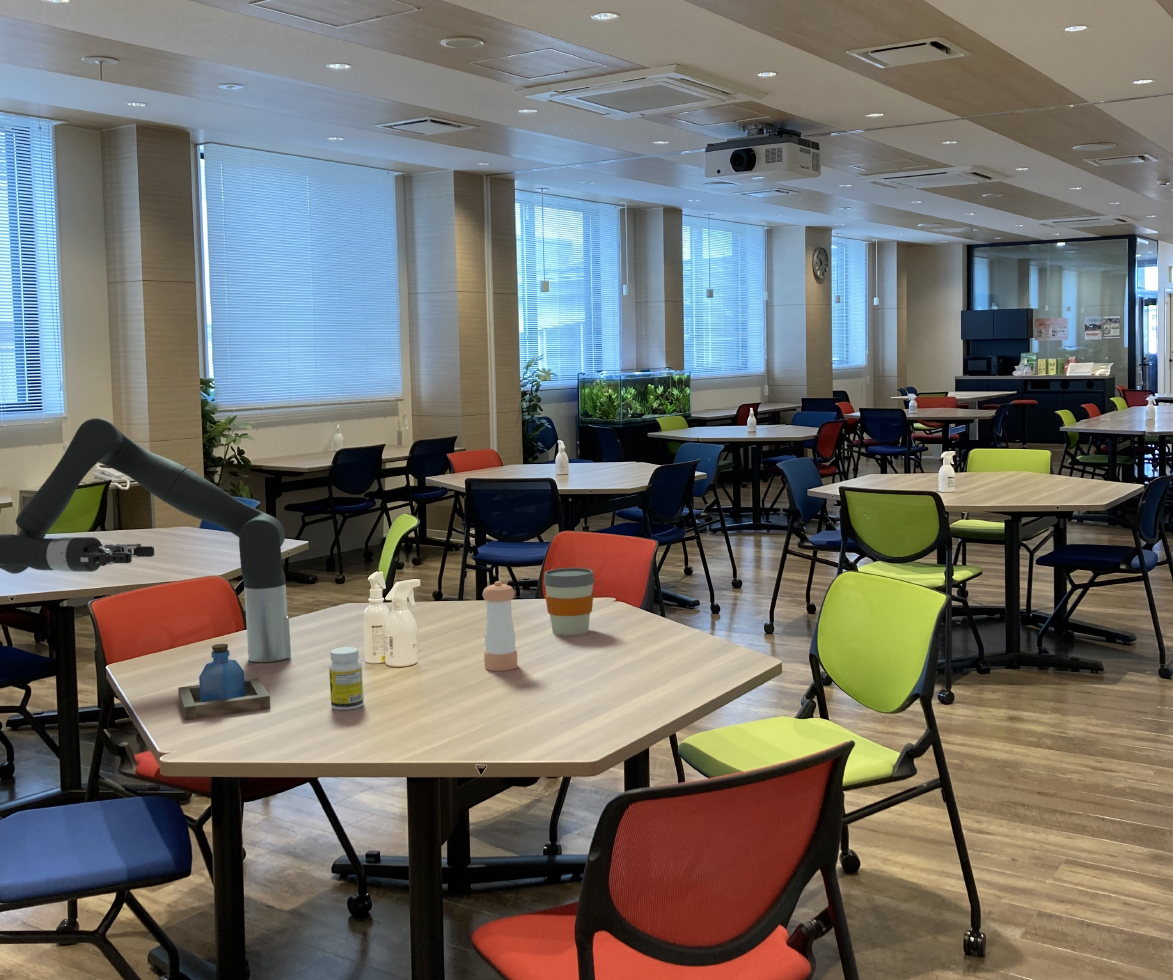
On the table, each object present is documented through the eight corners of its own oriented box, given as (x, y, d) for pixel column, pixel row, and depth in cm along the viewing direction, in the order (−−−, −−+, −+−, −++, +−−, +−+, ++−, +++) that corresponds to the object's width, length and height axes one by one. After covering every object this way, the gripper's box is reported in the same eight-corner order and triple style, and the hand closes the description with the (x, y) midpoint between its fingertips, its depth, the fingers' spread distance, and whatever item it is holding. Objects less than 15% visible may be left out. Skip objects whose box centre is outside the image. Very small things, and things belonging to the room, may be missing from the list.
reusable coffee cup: (605, 628, 295) (603, 569, 294) (578, 639, 285) (576, 577, 283) (563, 624, 302) (561, 566, 300) (535, 634, 291) (533, 574, 290)
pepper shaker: (477, 667, 260) (474, 582, 258) (501, 661, 265) (498, 577, 263) (500, 672, 255) (497, 585, 253) (524, 666, 260) (521, 580, 258)
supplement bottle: (335, 701, 236) (332, 646, 235) (367, 701, 236) (364, 645, 234) (327, 711, 229) (324, 654, 228) (359, 710, 229) (357, 653, 228)
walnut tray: (259, 689, 247) (258, 677, 247) (270, 708, 233) (269, 695, 232) (178, 699, 241) (178, 687, 241) (185, 719, 226) (184, 707, 226)
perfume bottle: (245, 700, 239) (242, 642, 238) (227, 709, 233) (224, 649, 232) (219, 698, 241) (216, 641, 239) (201, 707, 235) (197, 648, 234)
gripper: (52, 542, 249) (121, 542, 245) (93, 532, 262) (159, 532, 259) (55, 577, 249) (124, 577, 246) (96, 565, 263) (161, 566, 260)
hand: (142, 554), depth 253 cm, fingers open, 8 cm apart
